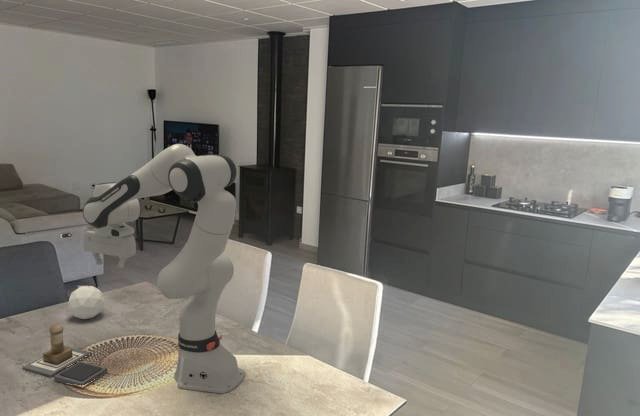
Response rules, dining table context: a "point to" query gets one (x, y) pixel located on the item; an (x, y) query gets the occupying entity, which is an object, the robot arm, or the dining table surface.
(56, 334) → the hand stamp
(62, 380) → the ink pad
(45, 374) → the document board
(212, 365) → the robot arm
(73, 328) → the dining table surface
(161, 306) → the dining table surface
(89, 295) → the geodesic sphere
